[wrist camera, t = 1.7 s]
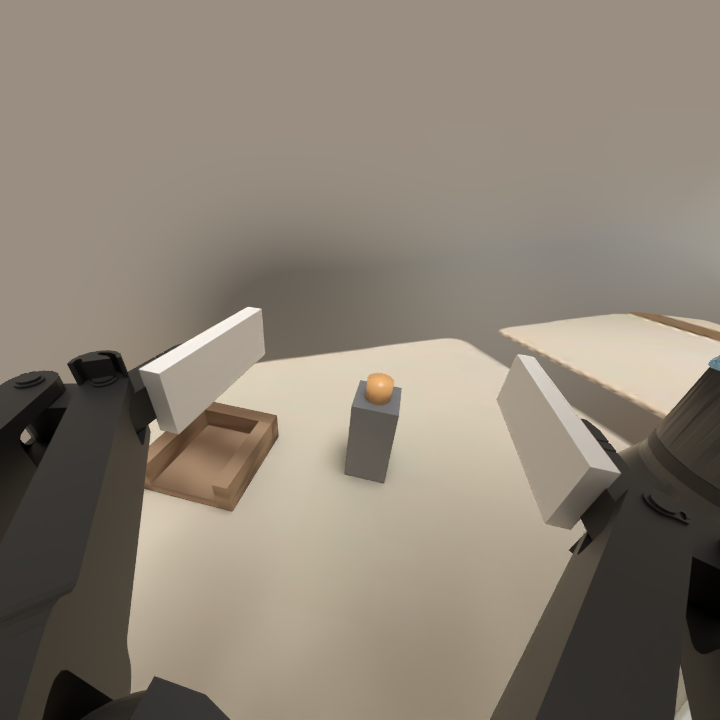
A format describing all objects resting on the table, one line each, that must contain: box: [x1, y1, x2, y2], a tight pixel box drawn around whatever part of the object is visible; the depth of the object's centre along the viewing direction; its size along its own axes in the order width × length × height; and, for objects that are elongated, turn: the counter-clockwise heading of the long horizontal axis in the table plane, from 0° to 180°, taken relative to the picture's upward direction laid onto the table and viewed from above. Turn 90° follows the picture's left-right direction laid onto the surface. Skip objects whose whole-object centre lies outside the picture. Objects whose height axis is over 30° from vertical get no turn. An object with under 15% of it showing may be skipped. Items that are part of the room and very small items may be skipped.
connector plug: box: [345, 373, 402, 483], centre depth 30 cm, size 4×4×12 cm
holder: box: [144, 402, 278, 511], centre depth 30 cm, size 10×10×4 cm
